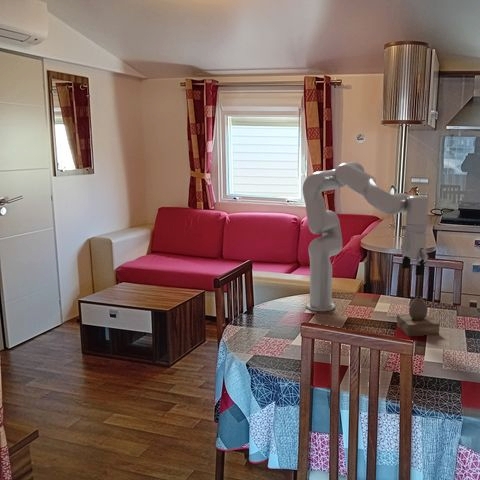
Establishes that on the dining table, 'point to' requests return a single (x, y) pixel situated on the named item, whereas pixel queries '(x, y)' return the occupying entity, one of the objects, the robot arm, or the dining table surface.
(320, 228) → the robot arm
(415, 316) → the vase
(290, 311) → the dining table surface
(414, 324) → the walnut block
